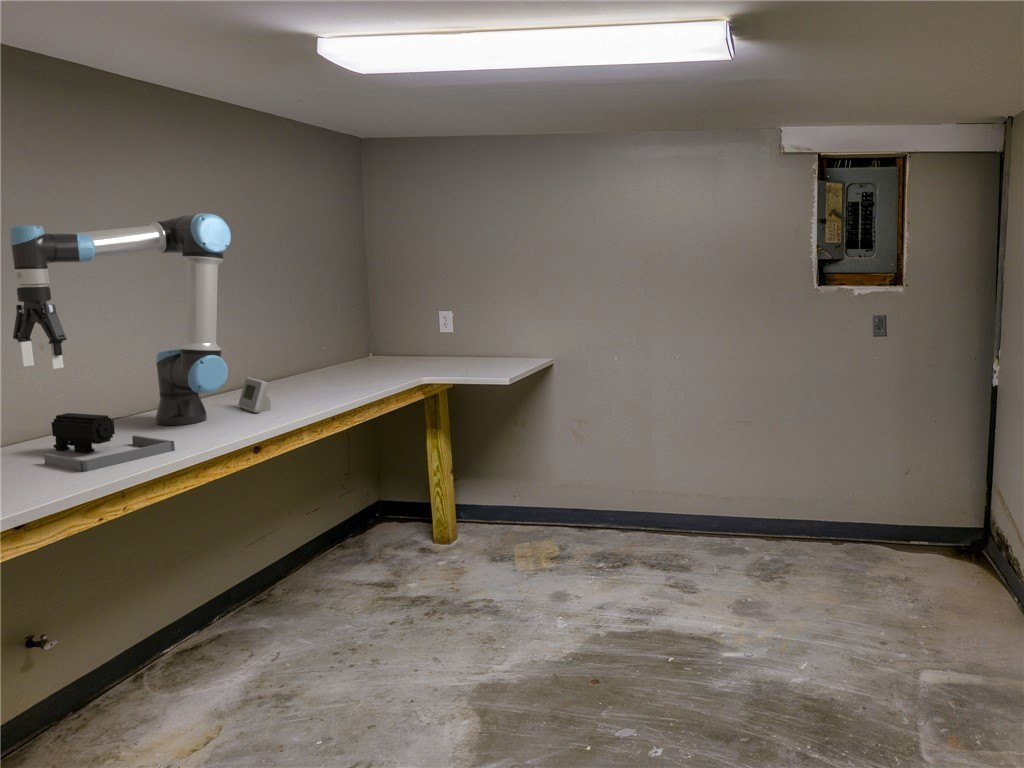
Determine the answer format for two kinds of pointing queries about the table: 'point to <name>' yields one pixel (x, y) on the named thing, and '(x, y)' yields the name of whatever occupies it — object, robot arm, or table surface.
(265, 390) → the digital clock
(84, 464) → the grey u-shaped frame
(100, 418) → the security camera
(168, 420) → the robot arm
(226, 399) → the table surface
